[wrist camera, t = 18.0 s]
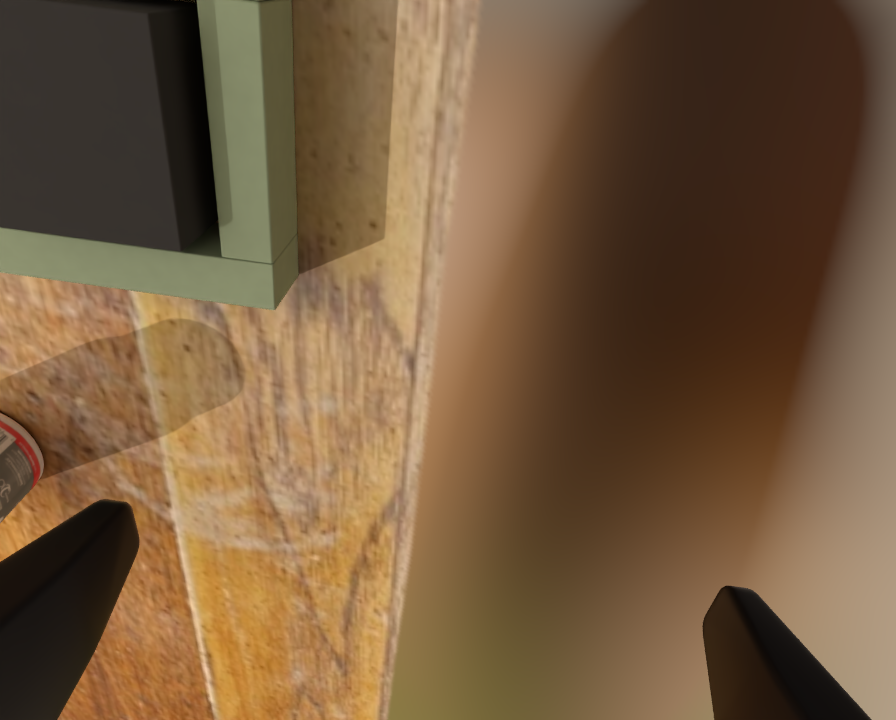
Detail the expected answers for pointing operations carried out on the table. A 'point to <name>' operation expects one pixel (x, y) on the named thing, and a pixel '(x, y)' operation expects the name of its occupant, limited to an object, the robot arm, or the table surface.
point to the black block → (105, 121)
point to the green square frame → (235, 174)
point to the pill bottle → (17, 464)
